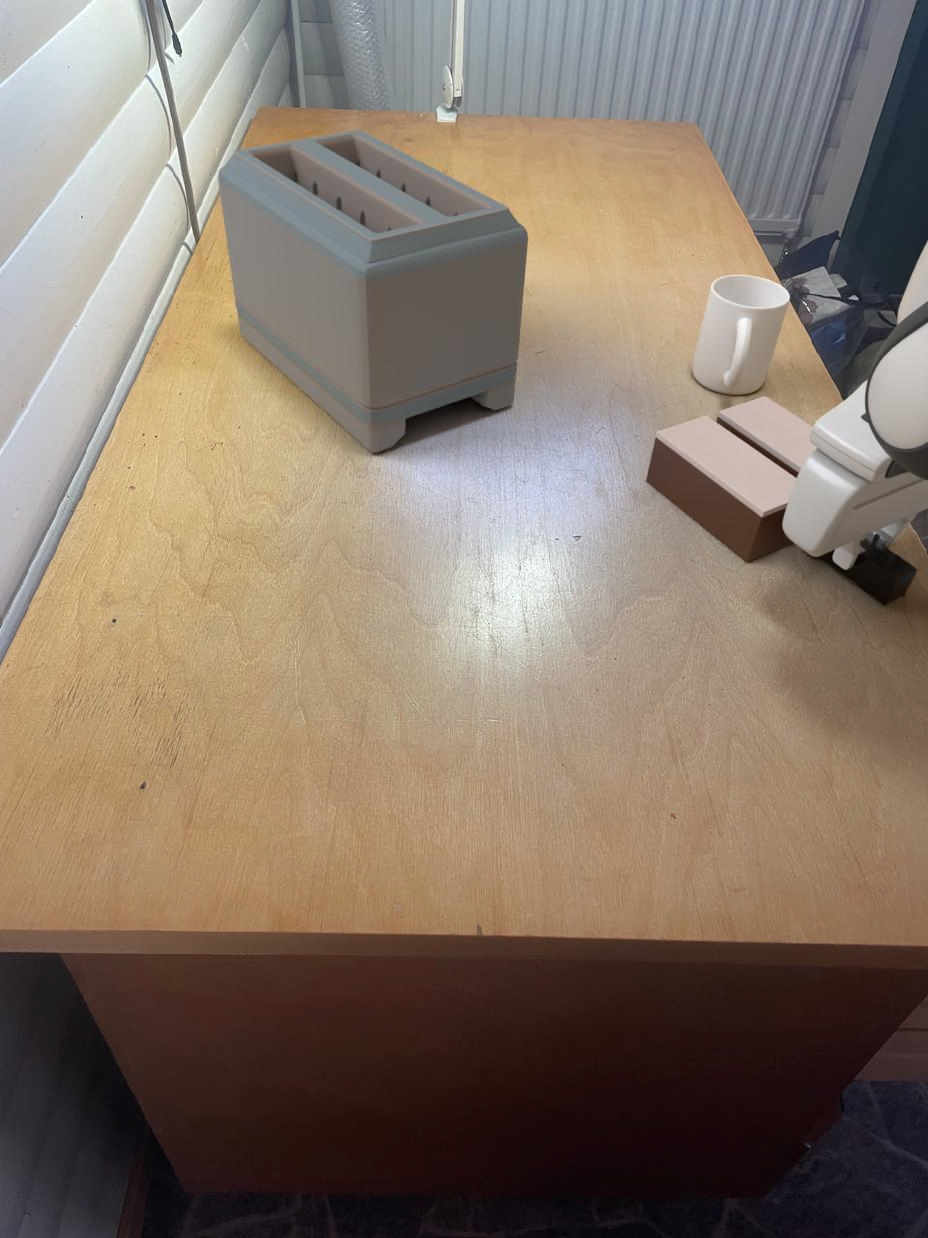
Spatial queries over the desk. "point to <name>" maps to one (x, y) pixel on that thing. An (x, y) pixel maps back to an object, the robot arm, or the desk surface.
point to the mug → (739, 333)
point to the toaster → (373, 279)
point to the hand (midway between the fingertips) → (860, 556)
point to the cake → (734, 472)
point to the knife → (878, 571)
